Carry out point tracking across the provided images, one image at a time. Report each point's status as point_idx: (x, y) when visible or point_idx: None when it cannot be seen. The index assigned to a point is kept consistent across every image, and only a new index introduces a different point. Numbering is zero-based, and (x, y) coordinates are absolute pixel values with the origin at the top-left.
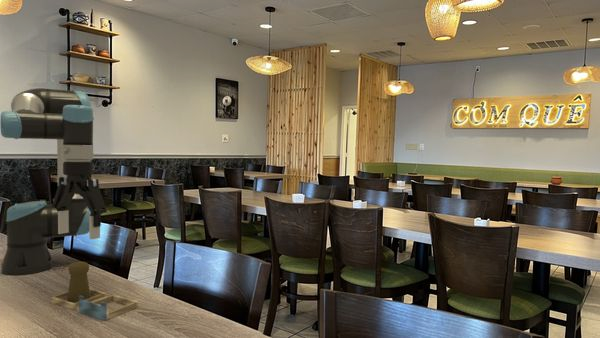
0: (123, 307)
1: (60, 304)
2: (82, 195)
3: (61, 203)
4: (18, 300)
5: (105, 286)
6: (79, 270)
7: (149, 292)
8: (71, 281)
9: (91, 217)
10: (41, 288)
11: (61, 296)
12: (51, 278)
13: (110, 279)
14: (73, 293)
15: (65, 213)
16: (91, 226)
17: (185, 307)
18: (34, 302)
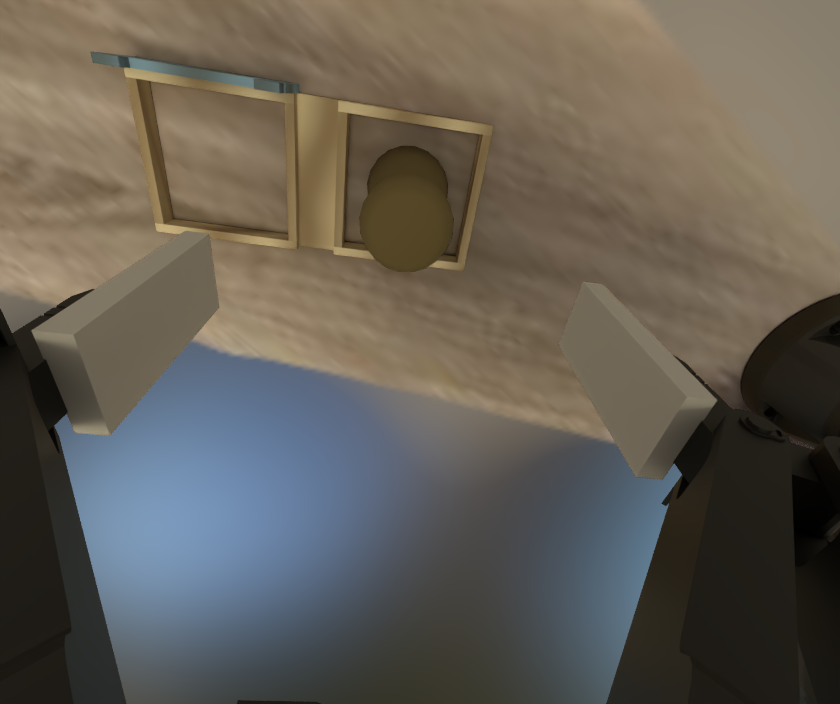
0: (143, 159)
1: (426, 114)
2: (15, 665)
3: (725, 485)
4: (634, 87)
5: (432, 331)
6: (369, 194)
7: (258, 341)
8: (412, 172)
9: (51, 324)
10: (636, 231)
11: (474, 169)
12: (670, 321)
13: (467, 383)
14: (396, 160)
15: (637, 430)
16: (121, 275)
17: (40, 283)
18: (553, 98)
